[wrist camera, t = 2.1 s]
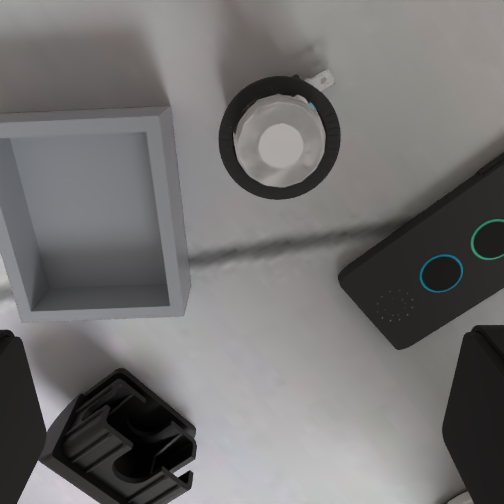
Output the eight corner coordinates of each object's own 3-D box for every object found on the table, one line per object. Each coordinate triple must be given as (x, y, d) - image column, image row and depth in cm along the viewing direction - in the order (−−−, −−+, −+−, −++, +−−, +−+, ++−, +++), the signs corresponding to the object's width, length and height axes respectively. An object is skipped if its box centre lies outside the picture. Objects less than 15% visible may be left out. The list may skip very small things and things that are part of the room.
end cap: (58, 405, 38) (22, 475, 32) (117, 361, 36) (90, 426, 30) (145, 470, 42) (126, 545, 35) (202, 432, 40) (194, 504, 34)
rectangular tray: (170, 105, 28) (158, 115, 24) (191, 285, 33) (184, 316, 30) (-1, 113, 28) (-38, 124, 25) (46, 291, 34) (21, 322, 30)
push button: (307, 33, 26) (337, 30, 17) (348, 114, 28) (394, 151, 19) (210, 96, 28) (192, 124, 19) (256, 170, 30) (259, 227, 21)
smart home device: (335, 282, 32) (616, 83, 26) (331, 270, 34) (595, 81, 28) (400, 355, 35) (668, 188, 29) (394, 342, 36) (646, 181, 31)
